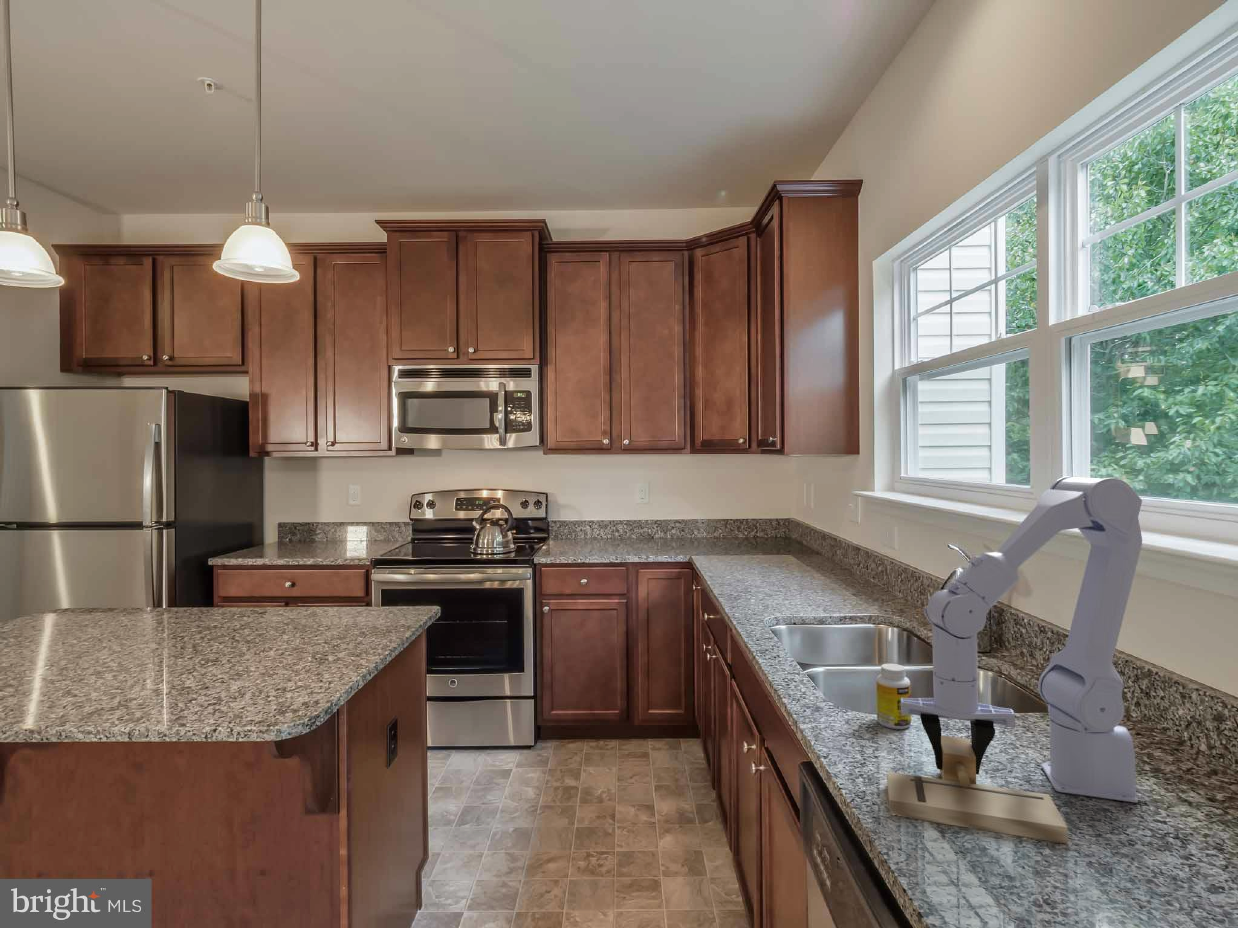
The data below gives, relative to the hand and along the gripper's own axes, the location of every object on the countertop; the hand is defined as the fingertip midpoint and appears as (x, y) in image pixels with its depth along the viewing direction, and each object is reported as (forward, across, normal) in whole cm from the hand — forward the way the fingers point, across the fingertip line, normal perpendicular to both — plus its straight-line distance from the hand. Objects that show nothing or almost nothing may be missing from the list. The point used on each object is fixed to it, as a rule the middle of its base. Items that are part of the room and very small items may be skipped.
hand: (956, 768), depth 92 cm
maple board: (+2, 0, +8) cm, 8 cm away
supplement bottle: (+2, +7, -20) cm, 21 cm away
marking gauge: (+2, 0, +3) cm, 3 cm away
